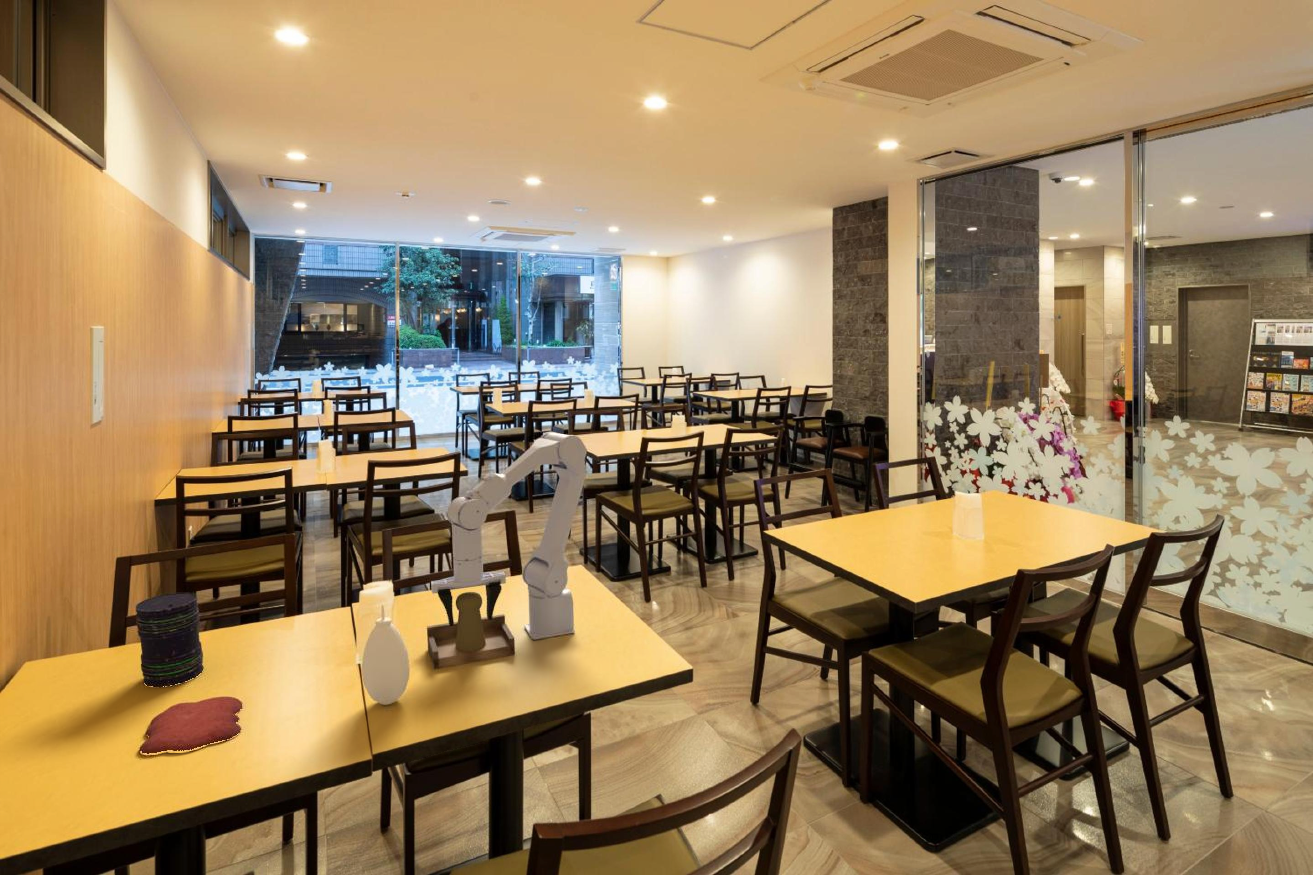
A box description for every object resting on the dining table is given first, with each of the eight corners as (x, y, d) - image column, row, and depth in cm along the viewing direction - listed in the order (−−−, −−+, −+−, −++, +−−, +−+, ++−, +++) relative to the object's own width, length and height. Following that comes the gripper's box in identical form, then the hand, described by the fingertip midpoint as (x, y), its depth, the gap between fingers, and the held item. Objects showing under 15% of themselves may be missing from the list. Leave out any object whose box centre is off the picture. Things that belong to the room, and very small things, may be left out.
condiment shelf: (504, 636, 154) (503, 614, 153) (514, 654, 145) (514, 630, 144) (428, 649, 148) (426, 626, 147) (433, 669, 139) (432, 644, 138)
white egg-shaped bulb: (366, 717, 121) (360, 616, 118) (362, 697, 128) (356, 601, 125) (414, 706, 124) (409, 608, 122) (407, 687, 131) (402, 594, 129)
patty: (240, 743, 114) (239, 731, 114) (134, 766, 108) (133, 754, 107) (245, 696, 129) (244, 685, 129) (153, 714, 123) (152, 703, 123)
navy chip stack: (137, 676, 136) (129, 601, 134) (196, 659, 143) (189, 588, 141) (149, 693, 129) (141, 615, 127) (211, 675, 137) (204, 600, 135)
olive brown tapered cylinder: (491, 641, 146) (489, 590, 145) (474, 653, 141) (472, 600, 139) (467, 637, 148) (465, 587, 147) (449, 649, 143) (446, 596, 141)
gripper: (499, 547, 149) (502, 609, 151) (428, 555, 143) (431, 620, 145) (507, 556, 143) (509, 620, 145) (432, 565, 137) (435, 632, 139)
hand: (470, 621), depth 145 cm, fingers open, 7 cm apart
